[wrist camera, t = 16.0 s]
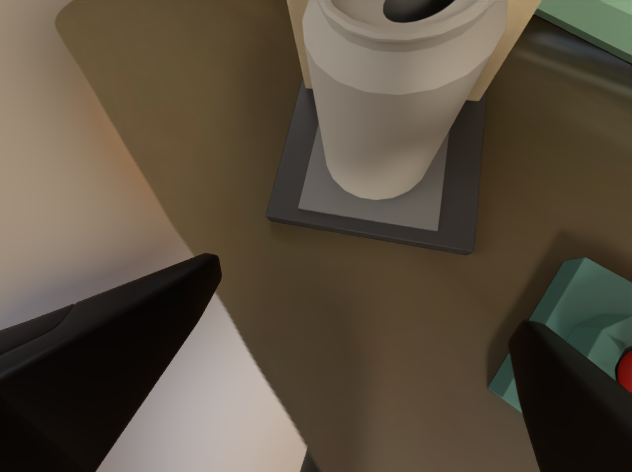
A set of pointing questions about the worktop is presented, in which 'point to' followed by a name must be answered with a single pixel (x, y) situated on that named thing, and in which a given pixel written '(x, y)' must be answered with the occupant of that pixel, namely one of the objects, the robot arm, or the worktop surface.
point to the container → (594, 22)
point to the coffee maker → (410, 207)
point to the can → (393, 82)
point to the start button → (625, 371)
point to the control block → (581, 319)
